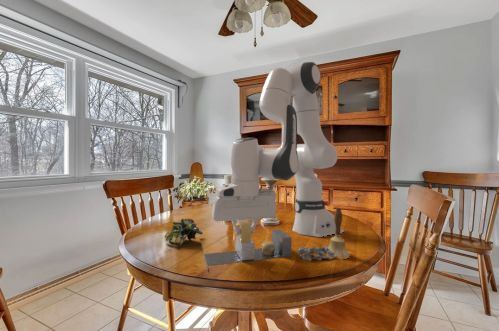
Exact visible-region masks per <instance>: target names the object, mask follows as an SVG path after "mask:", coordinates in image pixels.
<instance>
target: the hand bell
mask: <svg viewBox="0 0 499 331" xmlns="http://www.w3.org/2000/svg"><path fill="white" fill-rule="evenodd" d="M333 215H334V222H335V226H336V229H335V235H334V236H333V237H331V238H330V241H329V244H328V246H327V247H328V249H330V250H331V251H332V252H333V253H334V255H336V256H335V257H337V258H339V259H341V260H342V259H344V258H348V257H349V256H351V255H350V253H349V251H348V250H347V248H346V241H345V239H344V238H343V237H341V234H342V233H340V228H342V227H341V226H342V223H343V212H342V209H341V207H336V209H335V212H334V214H333Z"/></svg>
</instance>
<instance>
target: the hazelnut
mask: <svg viewBox="0 0 499 331" xmlns="http://www.w3.org/2000/svg"><path fill="white" fill-rule="evenodd" d="M261 248H262V254H264V255H273V254H274V253H275V244H274V243H273V242H272V241H264V242H262V244H261Z"/></svg>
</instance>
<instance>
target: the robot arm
mask: <svg viewBox="0 0 499 331" xmlns="http://www.w3.org/2000/svg"><path fill="white" fill-rule="evenodd" d="M321 77H322V76H321V71H320V68H319V66H318V64H316V63H315V62H314V61H307V62H306V61H305V62H303V63H299V64H296V65H292V66H289V67H287V68H284V67H276V68H274V69H271V70H270V71H269V73H268V75H267V77H266V79H265V81H264V84H263V87H262V89H261V93H260V97H259V103H258V104H259V105H258V106H259V111H260V113H262V114H263V116H264V117H265V118H266V119H269V120H270V121H272V122H274V123H278V124H280V125H281V145H280V146H279V147H278V148H267V149H266V148H264V147H262V146H260V145H259V143H258V142H259V140H258V138H256V137H242V138H236V140H234V141H233V143H232V149H231V155H230V156H231V157H230V167H231V171H232V172H231V173H232V174H231V178H230V183H228V184H226V185H222V186H219V187H216V191H215V193H216V196H215V197H214V199H213V204H212V209H211V210H212V211H211V217H212V219H213V220H214V221H215V222H227V221H228V222H230V221H231V223H232V225H233V227H234V232H235V235H239V234H241V232H240V231H241V228H240V227H239V226H238V225H237V224H238V221H246V220H251V221H252V224H251V234H254V233H256V232H255V230H256V229H255V228H256V226H257V224H258V223H259V220H261V219H273V218H275V217H276V215H277V205H276V199H277V194H276V191H275V190H273V189H272V188H260V178H263V179H264V178H265V179H275V180H281V181H289V180H290V179H292V178H293V177H294V178H295V183H296V184H295V186H296V192H295V193H296V196H295V197H296V198H295V202H294V206H295V209H294V210H295V214H294V215H295V217H294V222H293V226H292V230H291V231H292V232H296V233H298V234H299V235H304V236H310V237H311V236H312V237H316V238H323V236H324V237H328V236H327V235H330V236H333V235H332V234H335V229H336V226H335V222H334V214H333V213H332V212H331V211H329V210H328V209H327V208H326V207H330V205H331V202H330V201H327V200H325V201H324V200H323V199H322V198H323V183H322V181H321V180H320V178H319V177H317V176H316V174H315V172H314V170H315V169H319V170H322V169H323V170H324V169H328V168H332V167H333V166H334V165H336V164H337V161H338V150H337V148H336V147H335V146H334V145H333V144H332V143H331V142H330V141H329V140H328V139H327V138H326V137H325V135H324V133H323V130H322V127H321V119H320V118H321V116H320V110H319V109H320V108H319V107H320V106H319V102H318V97H317V93H316V91H317V89H318V88H319V86H320V83H321V79H322V78H321ZM291 99H292V105H291ZM298 136H300V137H301V138H302V141H303V142H304V143H302V144H300V143H299V144H298ZM340 232H344V233H345V230H344V228H342V227H340Z"/></svg>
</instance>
